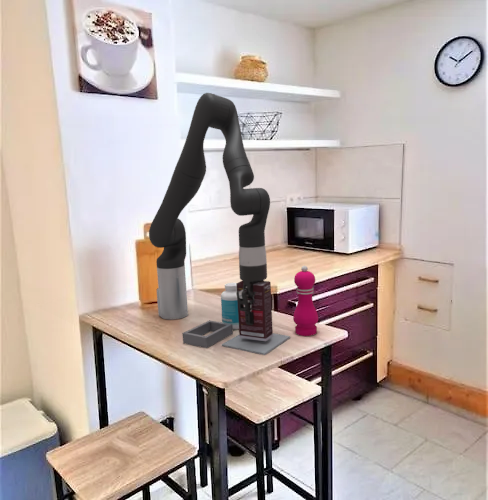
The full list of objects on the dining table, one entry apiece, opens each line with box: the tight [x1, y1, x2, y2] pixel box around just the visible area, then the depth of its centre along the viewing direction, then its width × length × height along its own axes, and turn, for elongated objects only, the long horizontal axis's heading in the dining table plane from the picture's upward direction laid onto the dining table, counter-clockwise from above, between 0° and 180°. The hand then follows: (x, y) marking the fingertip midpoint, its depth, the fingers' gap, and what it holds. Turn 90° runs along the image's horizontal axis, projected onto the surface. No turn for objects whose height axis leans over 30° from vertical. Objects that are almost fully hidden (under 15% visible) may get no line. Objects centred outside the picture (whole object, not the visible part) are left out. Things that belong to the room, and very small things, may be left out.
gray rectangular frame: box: [182, 320, 234, 349], centre depth 136 cm, size 8×12×3 cm
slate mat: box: [221, 333, 291, 356], centre depth 131 cm, size 14×14×1 cm
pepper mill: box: [292, 265, 319, 337], centre depth 135 cm, size 7×7×20 cm
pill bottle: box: [220, 282, 239, 330], centre depth 144 cm, size 8×7×14 cm
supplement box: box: [235, 280, 273, 341], centre depth 130 cm, size 9×5×16 cm, turn 62°
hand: (255, 321), depth 130 cm, fingers closed on supplement box, 5 cm apart
